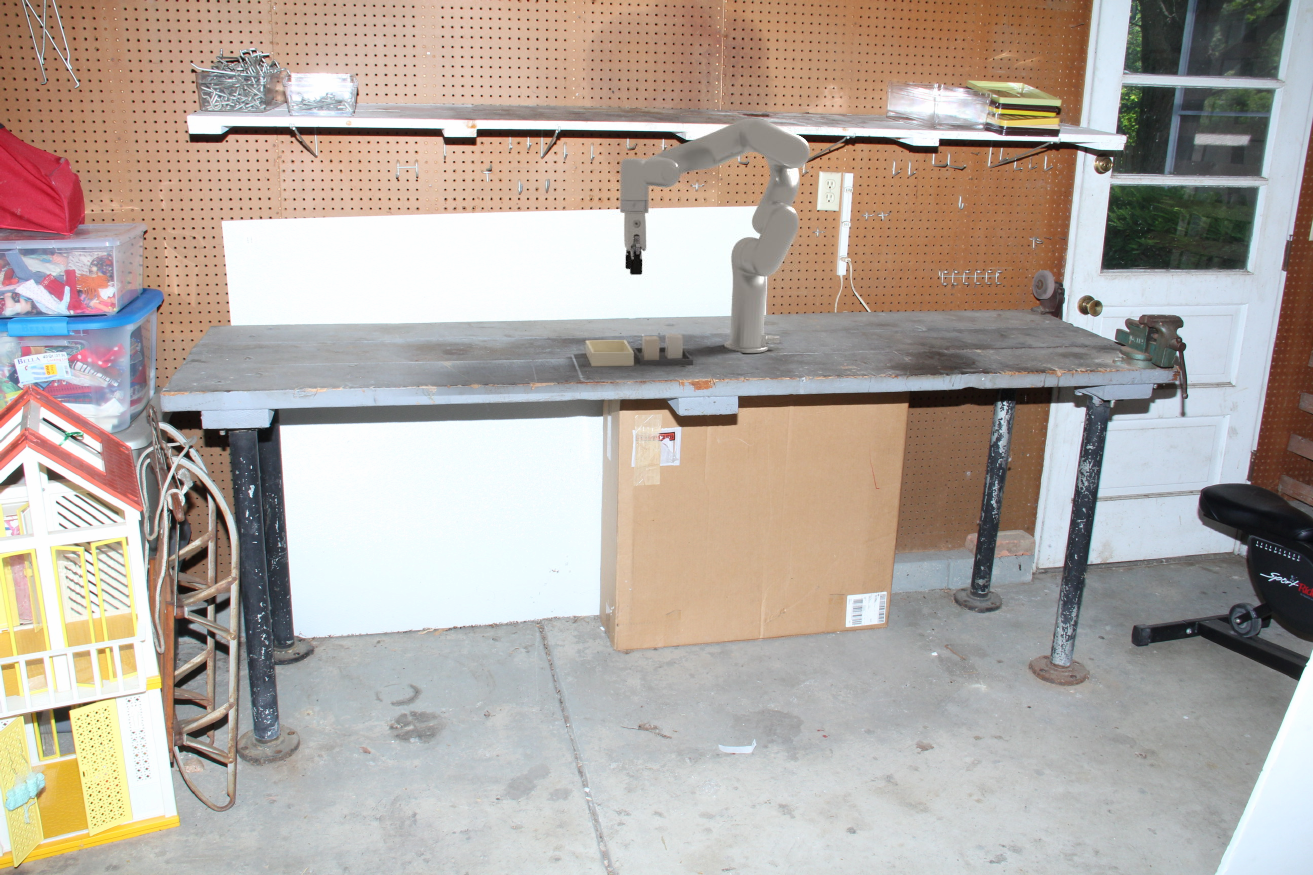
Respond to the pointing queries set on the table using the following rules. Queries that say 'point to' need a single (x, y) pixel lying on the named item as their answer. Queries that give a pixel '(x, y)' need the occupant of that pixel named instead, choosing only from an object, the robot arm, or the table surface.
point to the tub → (609, 353)
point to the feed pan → (663, 358)
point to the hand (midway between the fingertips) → (633, 271)
